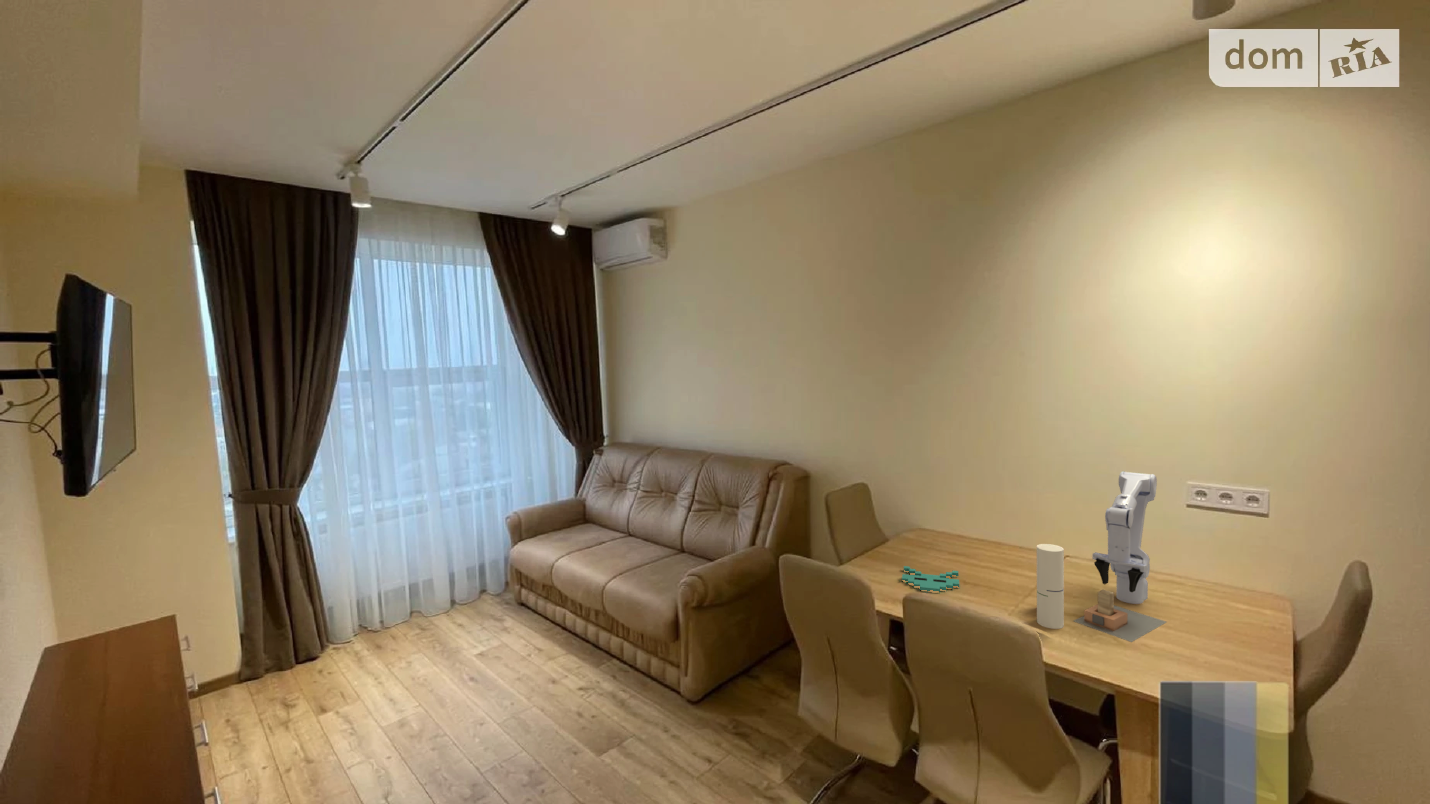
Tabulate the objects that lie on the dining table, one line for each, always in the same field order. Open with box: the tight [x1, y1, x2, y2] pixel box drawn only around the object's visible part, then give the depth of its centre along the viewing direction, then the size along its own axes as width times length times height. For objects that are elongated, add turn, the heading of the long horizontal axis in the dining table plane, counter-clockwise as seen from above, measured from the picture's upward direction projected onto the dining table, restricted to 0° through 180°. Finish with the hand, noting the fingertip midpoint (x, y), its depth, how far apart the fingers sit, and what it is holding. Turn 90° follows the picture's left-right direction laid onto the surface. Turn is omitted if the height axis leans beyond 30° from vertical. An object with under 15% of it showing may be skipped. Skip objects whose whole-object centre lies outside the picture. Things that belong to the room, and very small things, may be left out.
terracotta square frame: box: [1083, 603, 1128, 631], centre depth 172 cm, size 9×8×3 cm
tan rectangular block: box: [1097, 589, 1115, 616], centre depth 172 cm, size 3×3×9 cm
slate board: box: [1073, 604, 1167, 643], centre depth 172 cm, size 22×16×1 cm
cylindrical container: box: [1036, 543, 1065, 630], centre depth 172 cm, size 7×7×25 cm
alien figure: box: [901, 565, 960, 592], centre depth 211 cm, size 20×2×20 cm
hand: (1118, 587), depth 177 cm, fingers open, 7 cm apart
